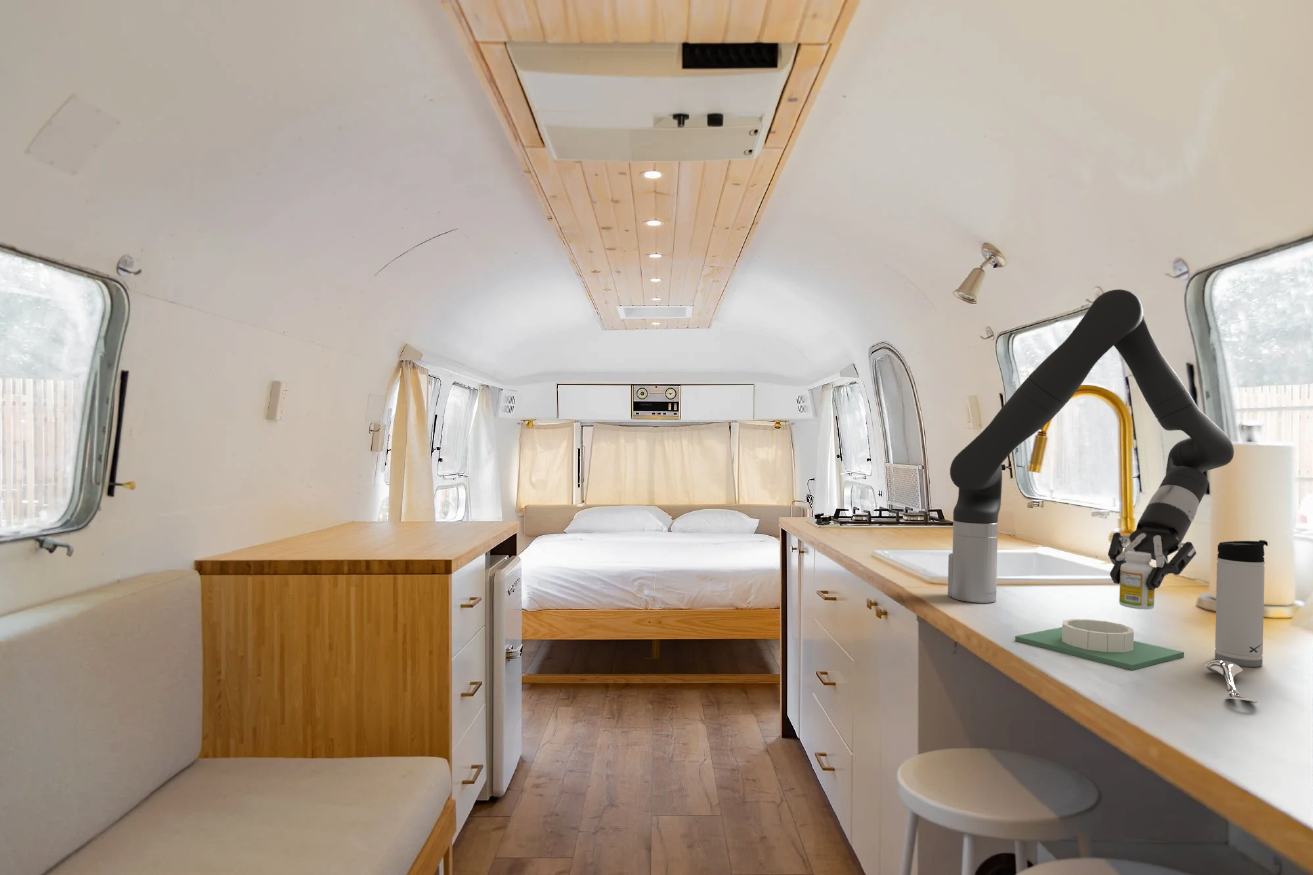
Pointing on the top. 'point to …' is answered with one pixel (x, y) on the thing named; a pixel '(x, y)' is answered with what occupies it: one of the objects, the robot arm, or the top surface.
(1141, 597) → the supplement bottle
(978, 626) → the top surface
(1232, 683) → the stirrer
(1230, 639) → the travel mug
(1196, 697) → the top surface
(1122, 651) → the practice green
